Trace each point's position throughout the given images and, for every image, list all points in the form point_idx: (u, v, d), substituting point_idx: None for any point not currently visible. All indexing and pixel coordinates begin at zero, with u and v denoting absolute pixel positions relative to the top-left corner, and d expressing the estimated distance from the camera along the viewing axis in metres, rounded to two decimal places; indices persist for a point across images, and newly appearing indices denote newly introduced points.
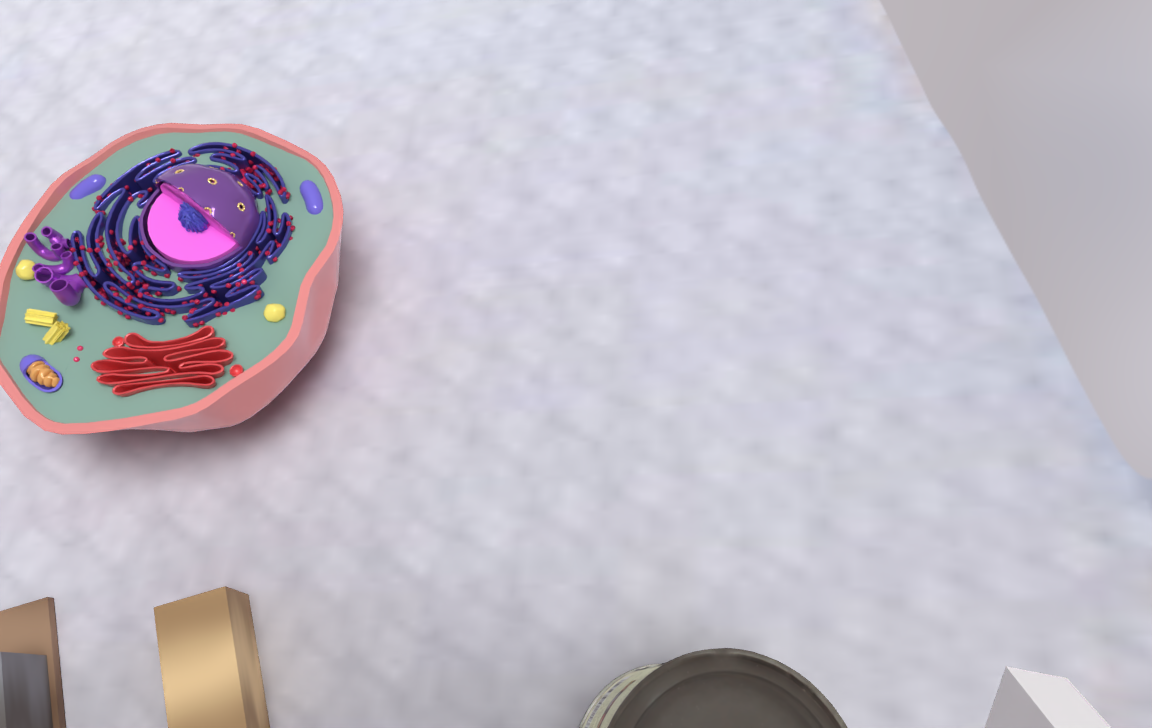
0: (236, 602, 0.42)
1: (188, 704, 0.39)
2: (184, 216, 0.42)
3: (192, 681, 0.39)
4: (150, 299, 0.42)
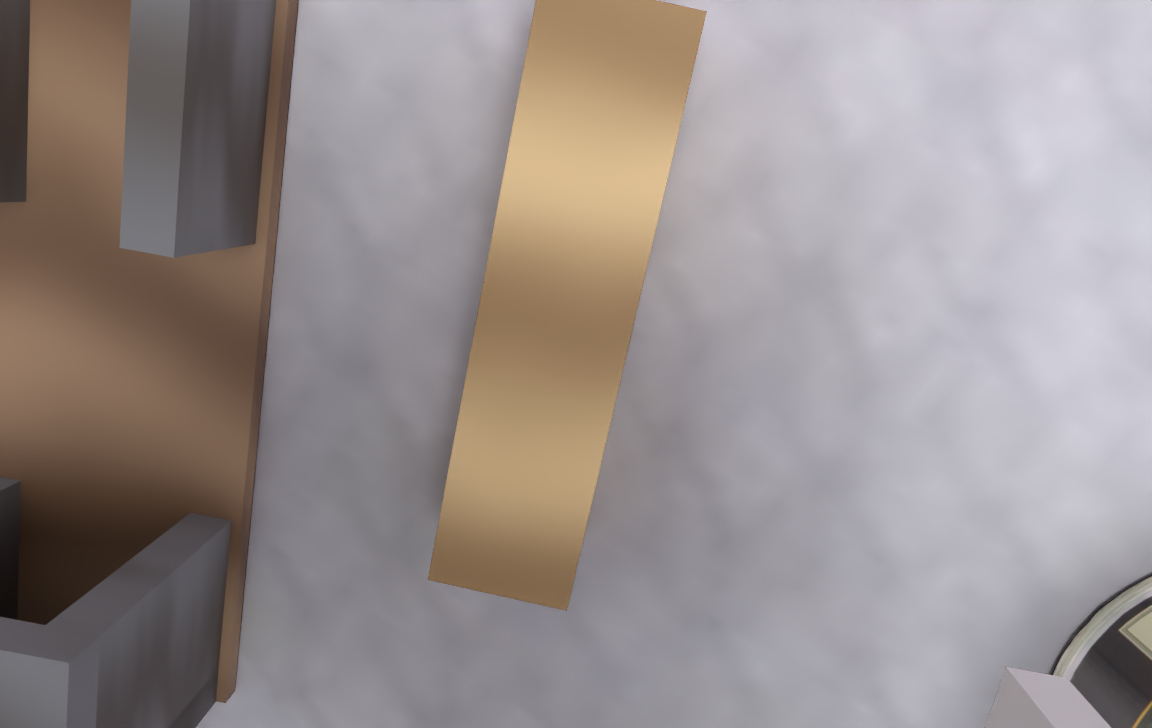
0: None
1: (541, 228, 0.18)
2: None
3: (564, 186, 0.17)
4: None
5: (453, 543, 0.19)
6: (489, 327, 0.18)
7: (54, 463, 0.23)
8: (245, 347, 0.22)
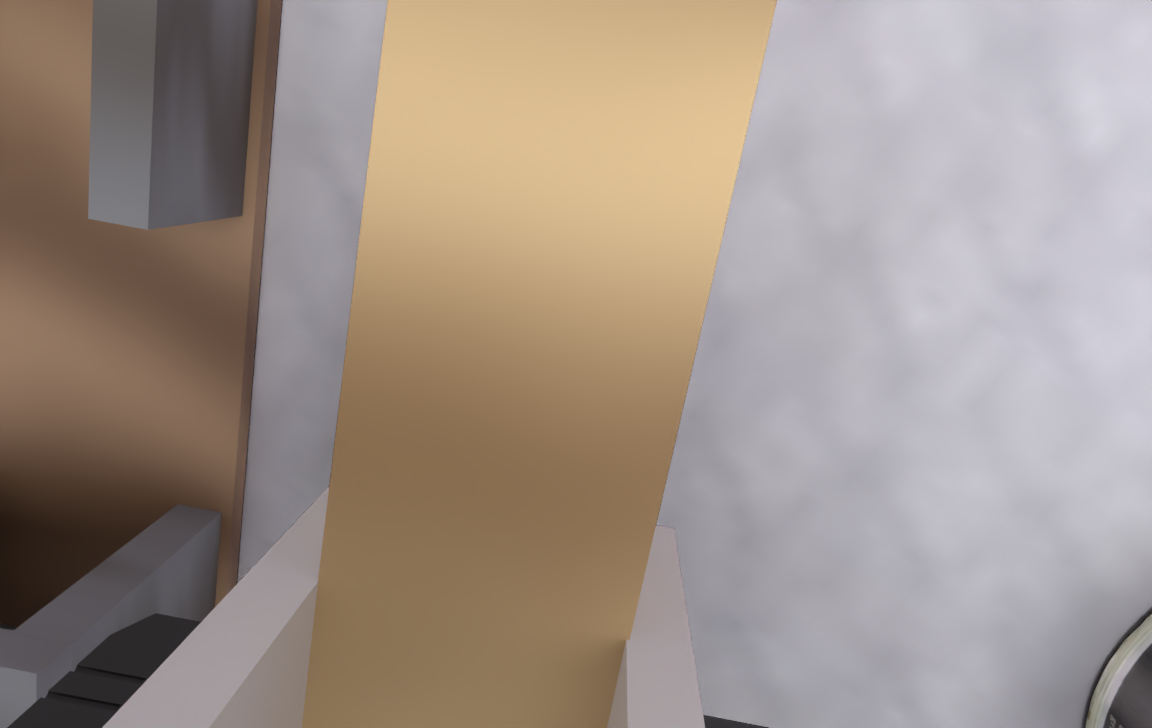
0: None
1: (462, 256, 0.08)
2: None
3: (508, 161, 0.08)
4: None
5: None
6: (362, 469, 0.09)
7: (33, 451, 0.21)
8: (233, 328, 0.20)
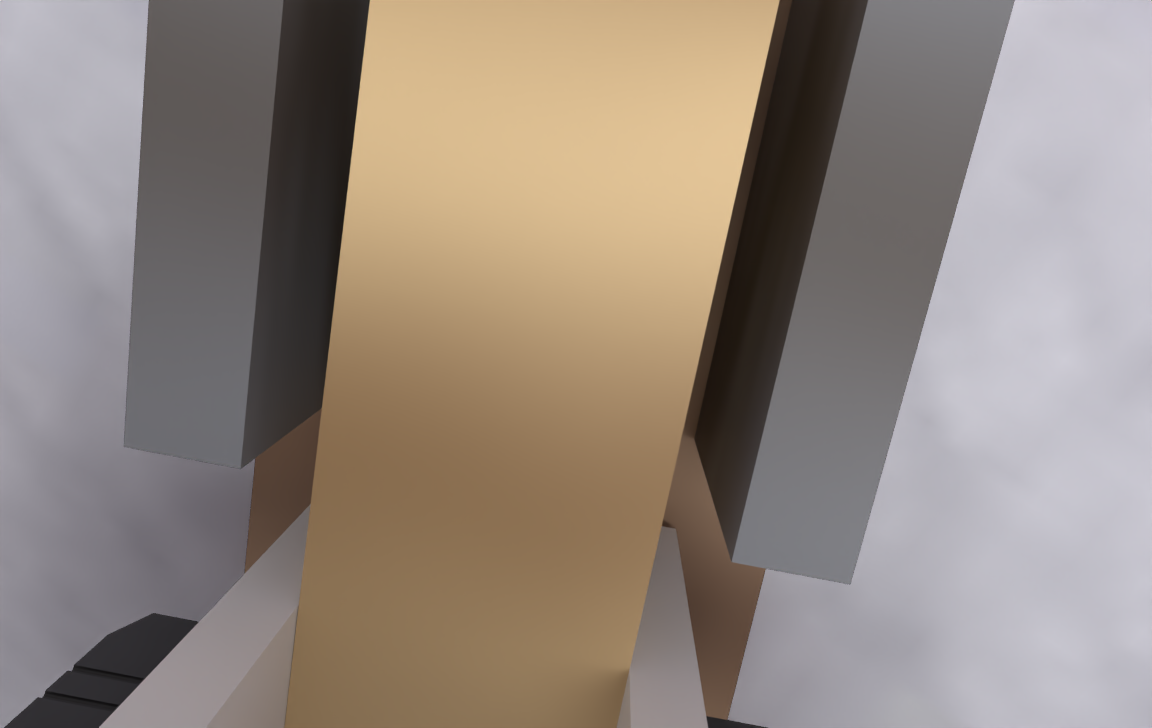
0: None
1: (451, 265, 0.07)
2: None
3: (498, 165, 0.07)
4: None
5: None
6: (344, 491, 0.08)
7: None
8: (729, 623, 0.13)
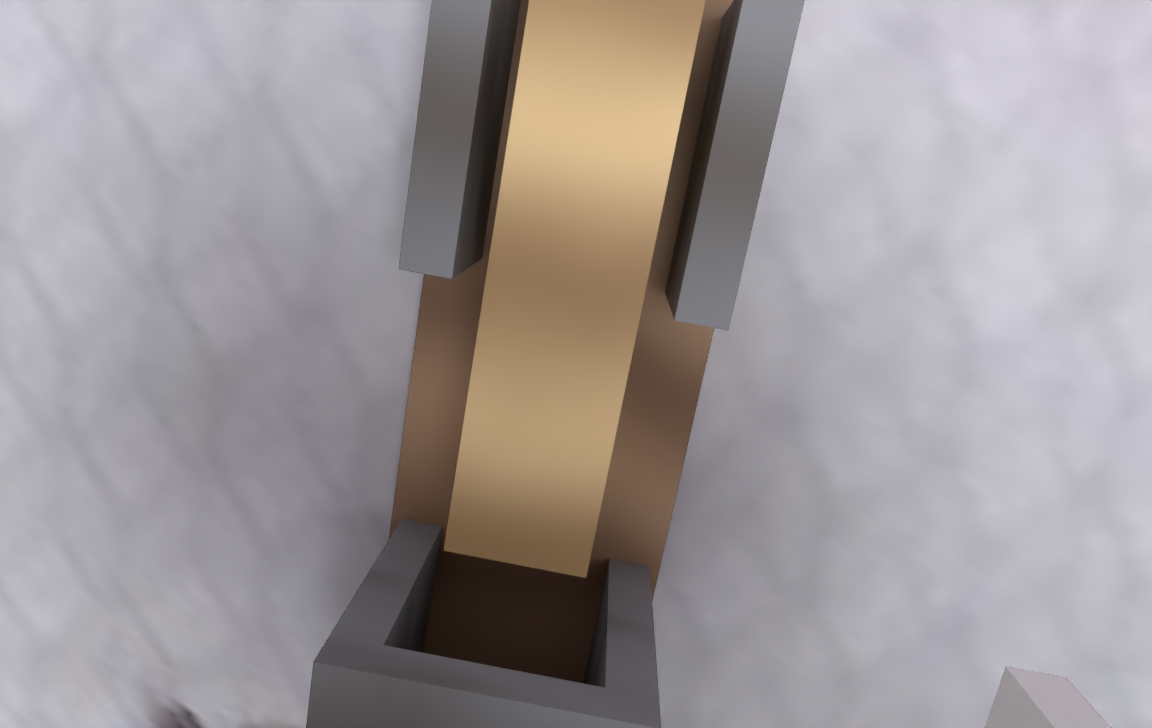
0: None
1: (550, 184, 0.17)
2: None
3: (572, 140, 0.17)
4: None
5: (468, 512, 0.19)
6: (499, 289, 0.18)
7: None
8: (685, 400, 0.22)
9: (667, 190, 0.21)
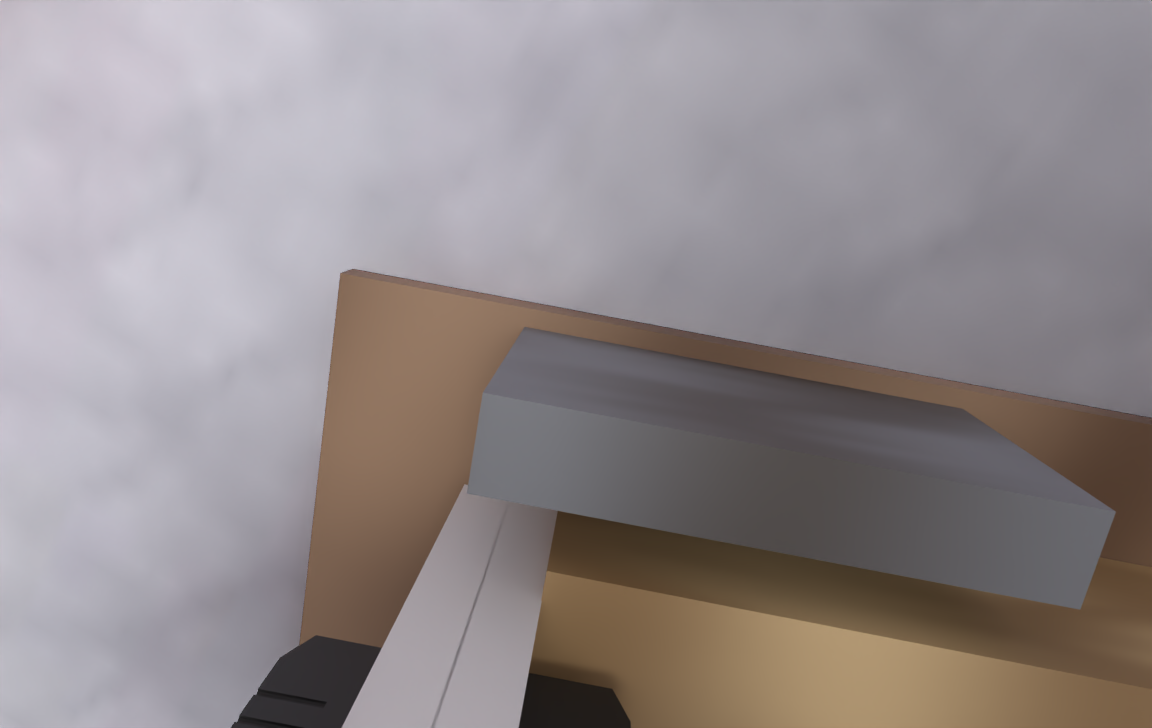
0: (606, 529, 0.11)
1: None
2: None
3: None
4: None
5: None
6: None
7: None
8: (1141, 444, 0.13)
9: None
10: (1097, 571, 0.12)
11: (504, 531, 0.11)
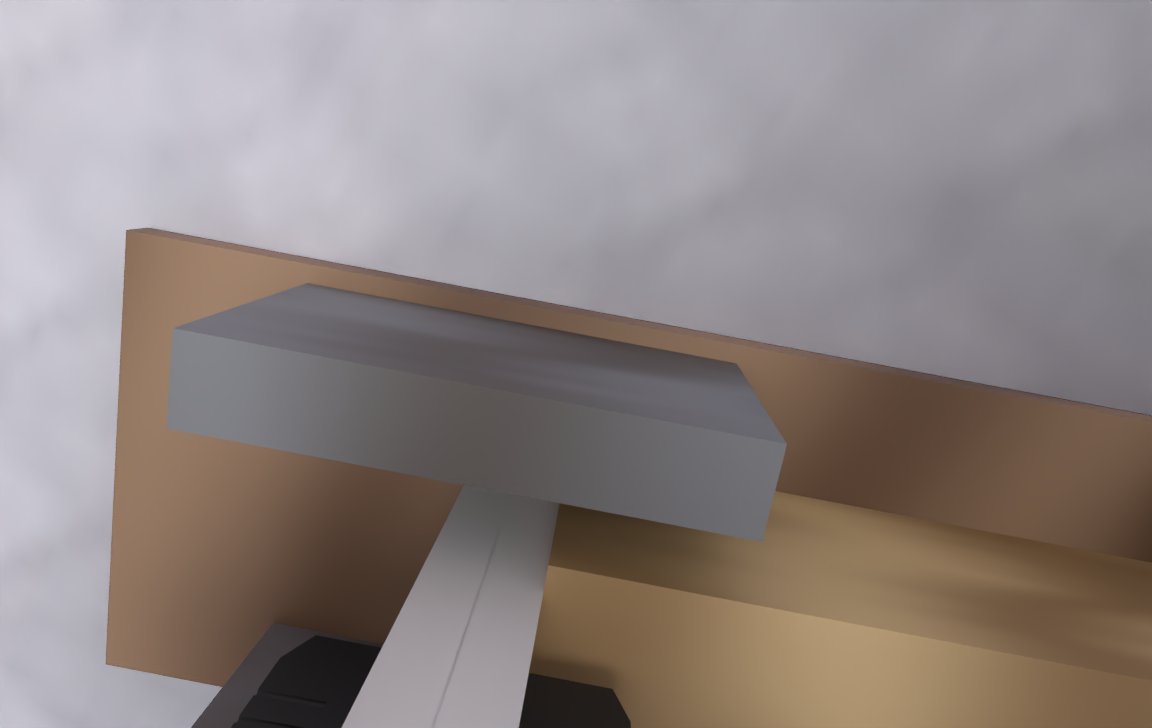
0: (607, 524, 0.11)
1: None
2: None
3: None
4: None
5: None
6: None
7: None
8: (911, 398, 0.13)
9: None
10: (1090, 565, 0.13)
11: (505, 531, 0.11)
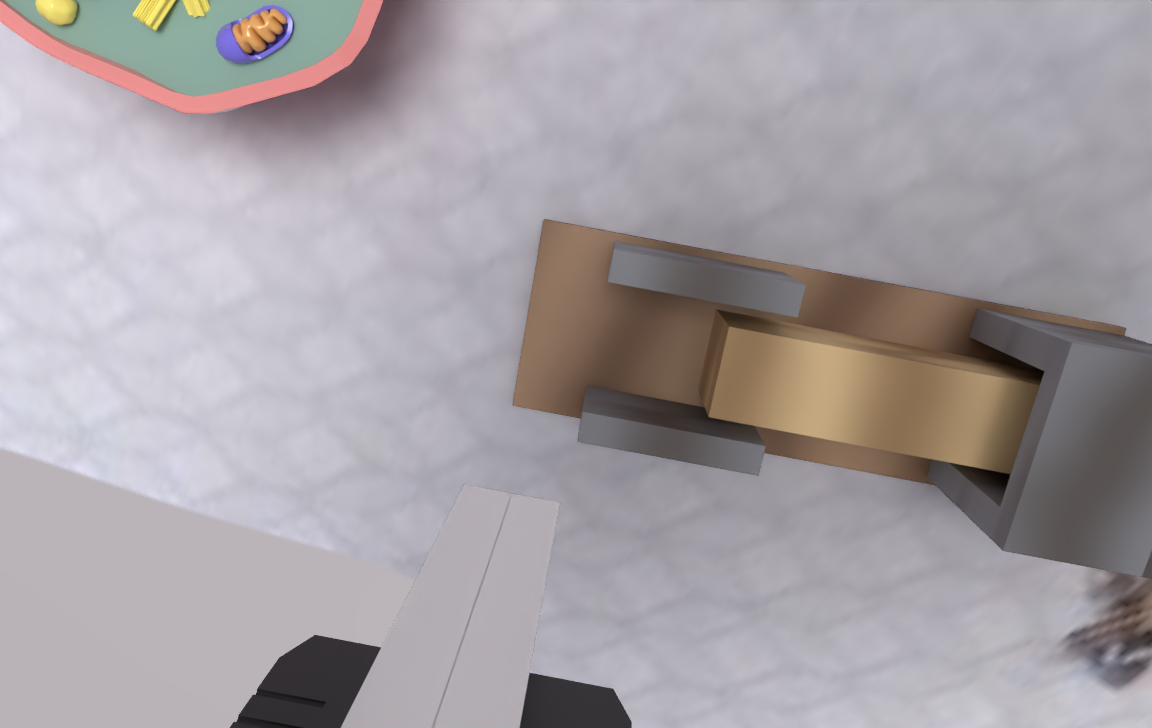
0: (741, 323, 0.31)
1: (848, 415, 0.30)
2: None
3: (824, 403, 0.30)
4: None
5: None
6: (907, 446, 0.30)
7: None
8: (852, 286, 0.33)
9: (711, 300, 0.33)
10: (921, 349, 0.32)
11: (505, 531, 0.11)
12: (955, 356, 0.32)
